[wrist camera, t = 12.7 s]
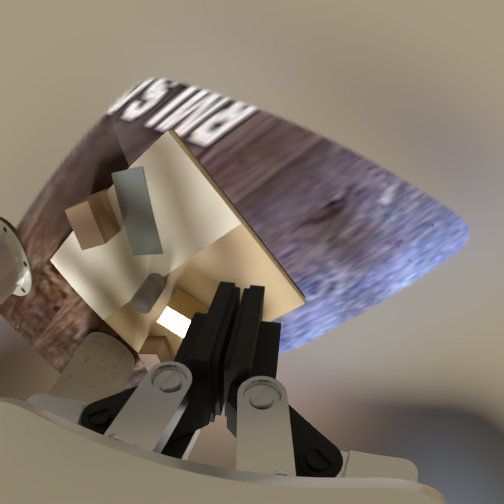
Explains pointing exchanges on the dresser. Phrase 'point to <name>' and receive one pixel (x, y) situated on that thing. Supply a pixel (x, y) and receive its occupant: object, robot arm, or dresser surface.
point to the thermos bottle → (95, 370)
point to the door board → (164, 248)
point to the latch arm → (180, 312)
